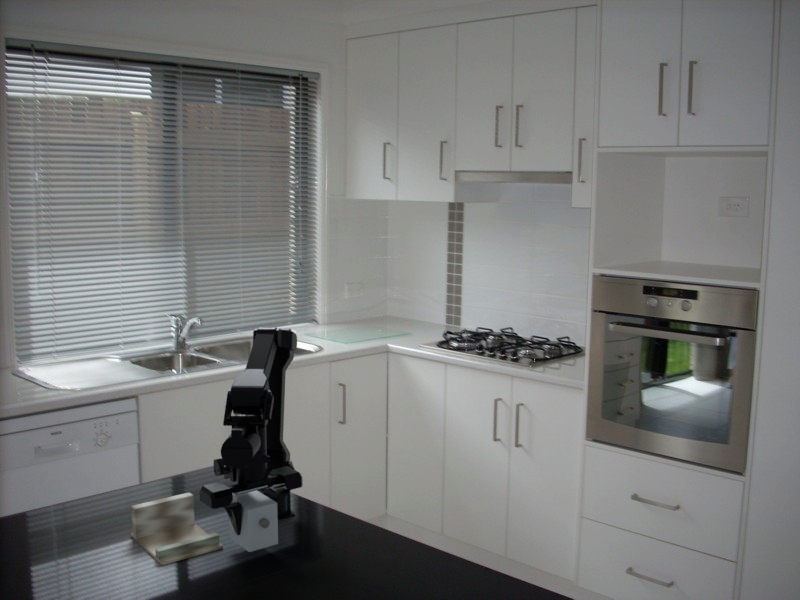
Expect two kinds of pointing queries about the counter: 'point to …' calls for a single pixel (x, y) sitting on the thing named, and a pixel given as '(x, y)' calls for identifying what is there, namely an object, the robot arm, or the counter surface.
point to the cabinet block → (256, 522)
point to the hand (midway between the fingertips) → (253, 530)
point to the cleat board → (171, 529)
